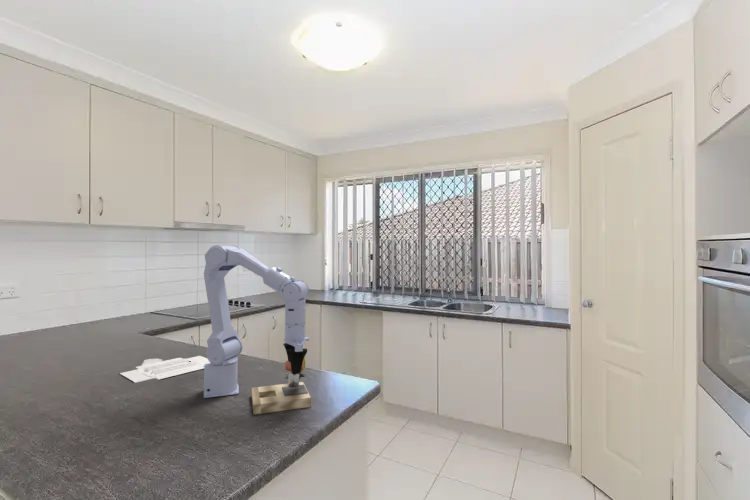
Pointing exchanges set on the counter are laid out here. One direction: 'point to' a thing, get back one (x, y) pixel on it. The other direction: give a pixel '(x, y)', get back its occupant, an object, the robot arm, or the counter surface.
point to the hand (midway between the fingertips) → (294, 370)
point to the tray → (165, 368)
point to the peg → (292, 375)
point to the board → (279, 398)
